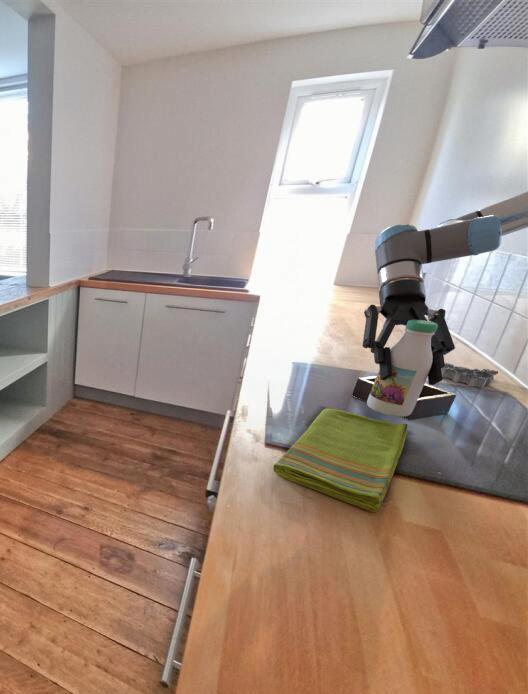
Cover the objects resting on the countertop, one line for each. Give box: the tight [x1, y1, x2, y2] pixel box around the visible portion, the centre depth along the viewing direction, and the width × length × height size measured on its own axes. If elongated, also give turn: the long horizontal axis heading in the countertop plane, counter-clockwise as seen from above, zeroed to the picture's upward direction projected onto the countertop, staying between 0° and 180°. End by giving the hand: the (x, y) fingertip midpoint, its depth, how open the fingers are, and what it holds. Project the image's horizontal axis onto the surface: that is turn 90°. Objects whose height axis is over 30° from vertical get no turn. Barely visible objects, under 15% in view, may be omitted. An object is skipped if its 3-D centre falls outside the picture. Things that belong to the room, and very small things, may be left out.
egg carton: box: [441, 362, 499, 389], centre depth 115 cm, size 11×8×4 cm
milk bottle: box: [366, 320, 438, 418], centre depth 88 cm, size 8×8×20 cm
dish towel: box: [272, 407, 409, 513], centre depth 80 cm, size 15×36×3 cm, turn 133°
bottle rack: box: [351, 375, 457, 421], centre depth 100 cm, size 13×12×5 cm
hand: (410, 379), depth 85 cm, fingers closed on milk bottle, 8 cm apart
